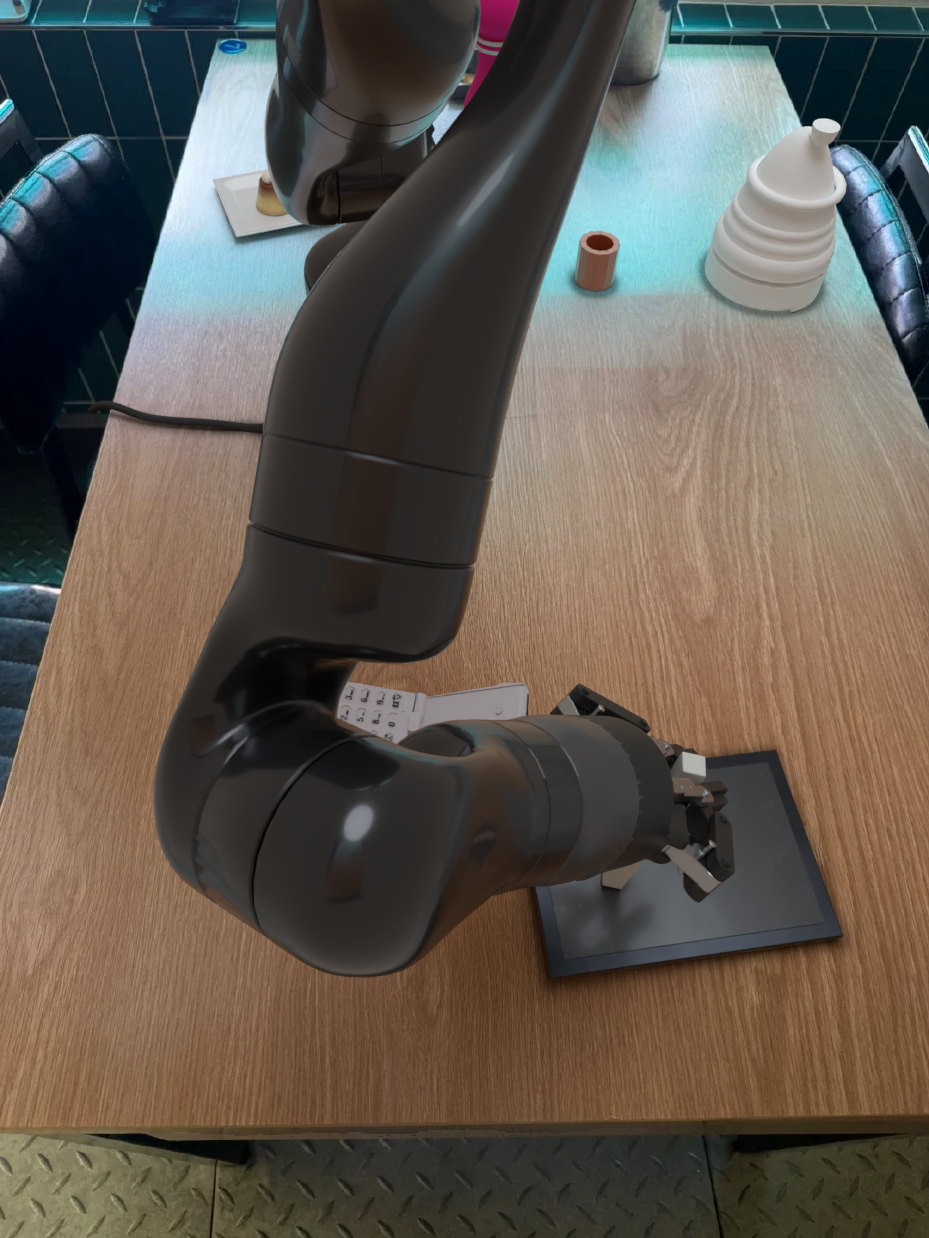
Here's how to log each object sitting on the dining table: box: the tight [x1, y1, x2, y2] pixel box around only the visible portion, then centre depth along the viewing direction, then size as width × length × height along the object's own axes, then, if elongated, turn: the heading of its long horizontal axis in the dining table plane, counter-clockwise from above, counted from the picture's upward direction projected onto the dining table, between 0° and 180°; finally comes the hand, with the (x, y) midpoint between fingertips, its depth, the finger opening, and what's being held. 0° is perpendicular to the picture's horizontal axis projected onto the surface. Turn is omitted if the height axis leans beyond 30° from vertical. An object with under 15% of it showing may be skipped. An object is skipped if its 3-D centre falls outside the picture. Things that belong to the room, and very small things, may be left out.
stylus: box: [602, 752, 706, 889], centre depth 59 cm, size 1×1×15 cm
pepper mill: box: [462, 0, 519, 110], centre depth 111 cm, size 7×7×20 cm
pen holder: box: [573, 230, 621, 292], centre depth 102 cm, size 4×4×5 cm
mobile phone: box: [338, 681, 530, 744], centre depth 70 cm, size 6×6×25 cm
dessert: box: [212, 168, 305, 238], centre depth 109 cm, size 12×12×5 cm
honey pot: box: [703, 117, 848, 313], centre depth 98 cm, size 13×13×18 cm
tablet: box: [532, 749, 844, 982], centre depth 67 cm, size 20×14×1 cm
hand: (699, 779), depth 58 cm, fingers closed on stylus
